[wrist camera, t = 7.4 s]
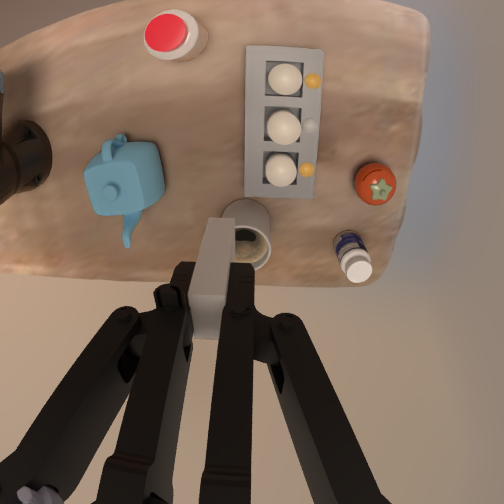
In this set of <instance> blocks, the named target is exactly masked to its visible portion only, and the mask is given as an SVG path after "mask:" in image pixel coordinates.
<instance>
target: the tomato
mask: <svg viewBox="0 0 504 504" xmlns="http://www.w3.org/2000/svg"><path fill="white" fill-rule="evenodd" d="M355 189H356V192H357V195H358V196H359V197H360V199H361V200H362V201H364V202H365V203H367V204H369V205H382V204H384V203H386V202H388V201H389V200H390V199H391V198H392V196H393V195H394V193H395V190H396V179H395V176H394V174H393V173H392V171H391V170H390V169H389V168H388V167H386V166H385V165H383V164H379V163H369V164H367V165H364V166H363V167H362V168H360V169H359V171H358V172H357V174H356V178H355Z"/></svg>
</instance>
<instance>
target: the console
mask: <svg viewBox="0 0 504 504" xmlns="http://www.w3.org/2000/svg"><path fill="white" fill-rule="evenodd" d="M323 60H324V50H318V49H309V48H297V47H283V46H257V45H246V83H245V180H244V197H273V198H300V199H313V190H314V180H315V170H316V160H317V149H318V137H319V125H320V111H321V96H322V80H323ZM280 64H290V65H293V66H295V67H296V68H297V69H298V70H299V71H300V73H301V75H302V85H301V87H300V88H299V90H298V91H296V92H295V93H293V94H290V95H282V94H279V93H277V92H275V91H274V90H273V89H272V88H271V86H270V85H269V82H268V74H269V72H270V70H271V69H272V68H273V67H275V66H277V65H280ZM280 109H284V110H288V111H290V112H292V113H293V114H294V115H295V116H296V118H297V119H298V120H299V122H300V124H301V134H300V136H299V138H298V139H297V140H296V141H295V142H294V143H292V144H289V145H280V144H277V143H275V142H274V141H273V140H272V139H271V138H270V137H269V134H268V130H267V120H268V117H269V116H270V115H271V114H272V113H273V112H274V111H276V110H280ZM275 151H277V152H286V153H288V154H289V155H290V156H291V157H292V158H293V161H294V164H295V167H296V170H297V174H296V178H295V180H294V181H293V182H292V183H291V184H289V185H287V186H284V187H278V186H275V185H273V184H271V183H270V182H269V181H268V179H267V177H266V169H265V162H266V159H267V157H268V156H269V155H270V154H271V153H273V152H275Z"/></svg>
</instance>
